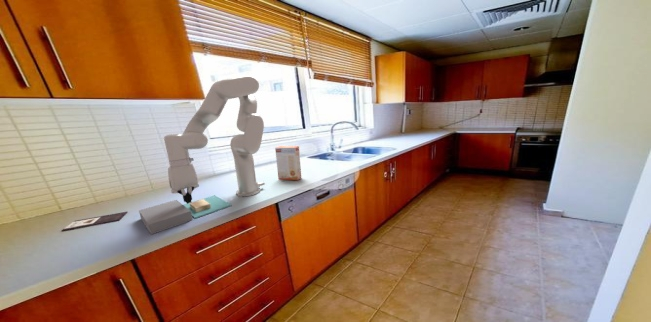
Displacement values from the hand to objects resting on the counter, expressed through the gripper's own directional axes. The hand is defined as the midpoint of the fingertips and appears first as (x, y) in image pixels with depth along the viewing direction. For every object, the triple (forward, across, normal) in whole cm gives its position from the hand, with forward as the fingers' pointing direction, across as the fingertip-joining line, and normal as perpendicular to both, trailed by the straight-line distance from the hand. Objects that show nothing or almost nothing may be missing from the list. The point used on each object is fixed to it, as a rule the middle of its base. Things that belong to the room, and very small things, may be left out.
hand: (188, 202), depth 100 cm
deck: (+4, +9, 0) cm, 10 cm away
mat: (+4, -7, 0) cm, 8 cm away
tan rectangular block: (+2, -4, +1) cm, 5 cm away
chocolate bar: (+5, +29, -24) cm, 38 cm away
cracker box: (+5, -58, 0) cm, 58 cm away
